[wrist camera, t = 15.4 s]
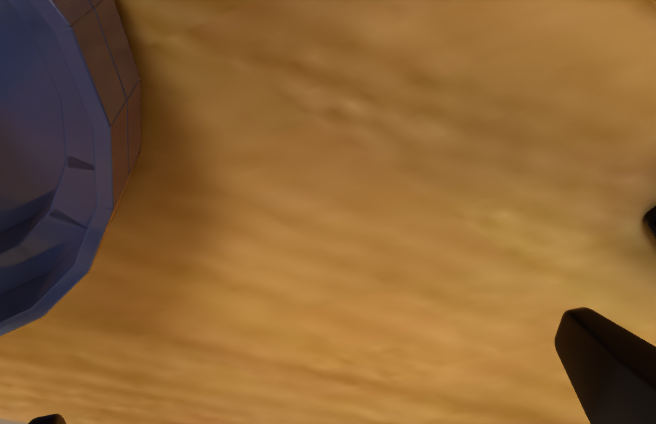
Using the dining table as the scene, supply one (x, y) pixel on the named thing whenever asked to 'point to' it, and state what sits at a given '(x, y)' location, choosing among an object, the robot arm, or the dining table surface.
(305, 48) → the dining table surface
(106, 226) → the bowl
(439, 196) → the dining table surface
